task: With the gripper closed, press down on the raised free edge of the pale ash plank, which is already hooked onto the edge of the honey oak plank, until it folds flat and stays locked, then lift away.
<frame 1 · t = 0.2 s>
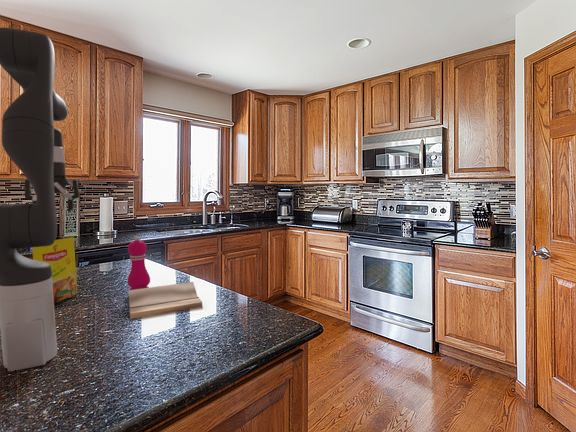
hand: (54, 212, 110), 29 cm above the counter, tool pointing down, fingers open, 8 cm apart
food package: (58, 301, 111), on the counter
pepper mill: (139, 293, 119), on the counter
oak plank: (165, 307, 104), on the counter
ash plank: (163, 295, 107), point 3 cm above the counter, hinge at 30.0°
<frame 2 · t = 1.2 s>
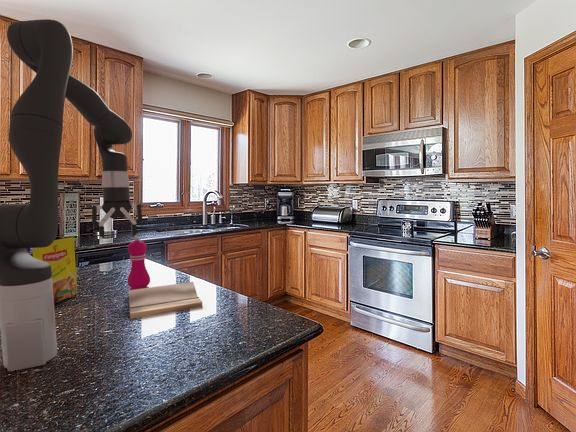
hand: (118, 237, 109), 21 cm above the counter, tool pointing down, fingers open, 8 cm apart
nothing on the counter moved.
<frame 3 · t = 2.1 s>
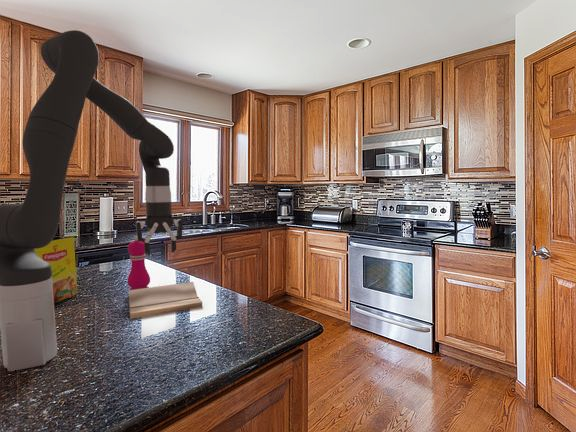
hand: (160, 253, 108), 16 cm above the counter, tool pointing down, fingers open, 6 cm apart
nothing on the counter moved.
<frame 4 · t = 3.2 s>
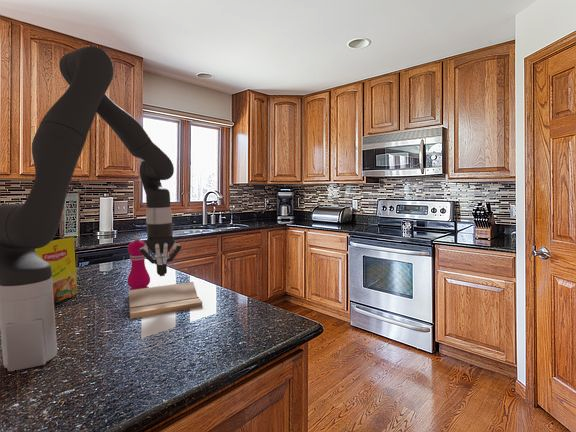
hand: (162, 275, 109), 8 cm above the counter, tool pointing down, fingers closed
nothing on the counter moved.
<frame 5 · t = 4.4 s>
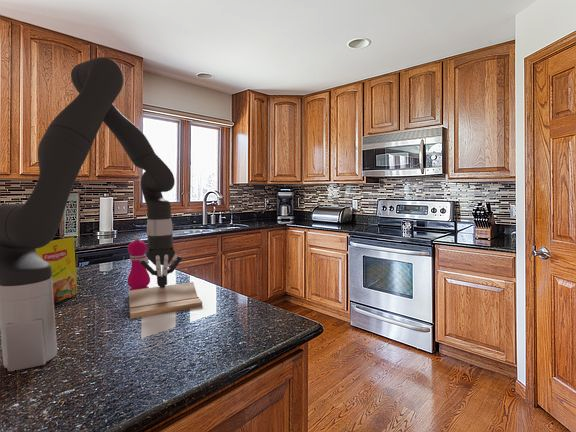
hand: (162, 286, 109), 5 cm above the counter, tool pointing down, fingers closed
ash plank: (163, 295, 107), point 3 cm above the counter, hinge at 28.8°, touching gripper
everything else where it was.
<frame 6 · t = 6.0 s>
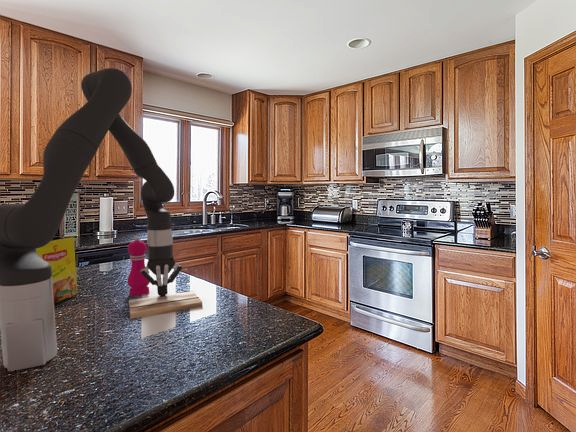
hand: (162, 296, 110), 2 cm above the counter, tool pointing down, fingers closed
ash plank: (163, 300, 108), point 1 cm above the counter, hinge at 0.8°, touching gripper
everything else where it was.
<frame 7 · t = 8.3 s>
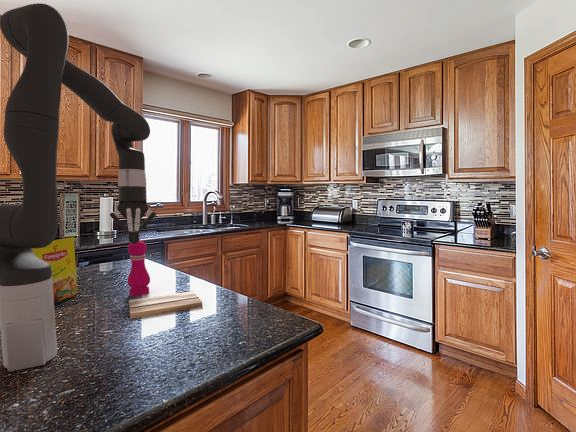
hand: (134, 243, 102), 20 cm above the counter, tool pointing down, fingers closed
ash plank: (163, 301, 108), point 1 cm above the counter, hinge at 0.7°
everything else where it was.
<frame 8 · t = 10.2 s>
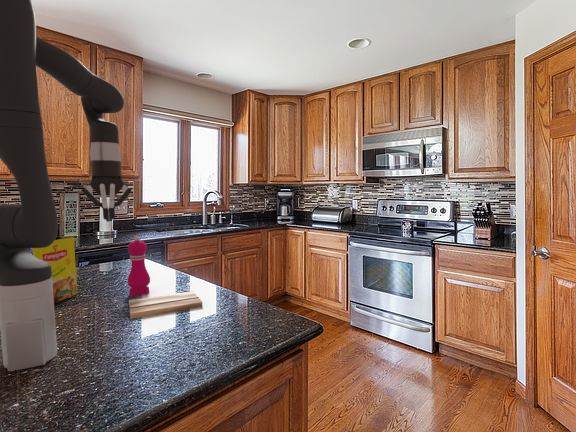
hand: (109, 221, 98), 27 cm above the counter, tool pointing down, fingers closed
nothing on the counter moved.
at the end: ash plank at +1° (first picture: +30°); the gripper is holding nothing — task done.
